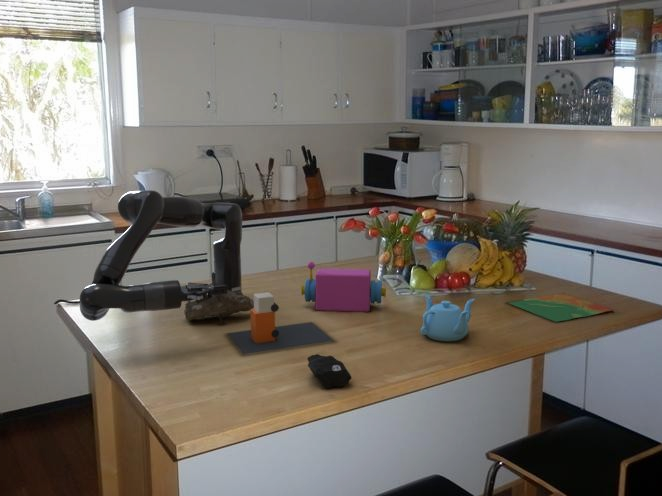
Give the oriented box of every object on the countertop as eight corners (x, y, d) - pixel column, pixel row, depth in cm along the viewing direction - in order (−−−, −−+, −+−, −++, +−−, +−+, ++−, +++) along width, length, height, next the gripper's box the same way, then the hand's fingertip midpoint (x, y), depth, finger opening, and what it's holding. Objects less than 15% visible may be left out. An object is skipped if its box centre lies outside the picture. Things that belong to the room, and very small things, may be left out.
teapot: (414, 341, 186) (415, 306, 184) (424, 324, 200) (425, 292, 198) (467, 347, 182) (468, 311, 180) (473, 329, 196) (475, 296, 194)
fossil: (252, 297, 214) (253, 278, 201) (258, 325, 210) (260, 307, 197) (183, 310, 209) (180, 291, 196) (188, 338, 205) (186, 321, 192)
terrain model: (563, 294, 233) (563, 292, 233) (614, 311, 213) (615, 309, 213) (507, 302, 223) (507, 301, 222) (555, 321, 203) (555, 319, 202)
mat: (243, 355, 175) (243, 353, 175) (227, 334, 192) (227, 333, 192) (334, 342, 185) (334, 340, 185) (311, 323, 202) (311, 322, 202)
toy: (385, 304, 221) (386, 260, 218) (385, 312, 212) (385, 267, 210) (303, 302, 224) (303, 259, 221) (299, 310, 215) (299, 265, 212)
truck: (256, 343, 183) (255, 298, 181) (250, 337, 188) (249, 293, 185) (279, 340, 186) (278, 296, 183) (273, 334, 190) (272, 291, 188)
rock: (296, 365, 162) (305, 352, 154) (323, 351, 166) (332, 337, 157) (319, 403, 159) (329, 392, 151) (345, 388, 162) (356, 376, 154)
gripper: (164, 287, 166) (232, 281, 173) (156, 276, 178) (220, 270, 185) (166, 316, 168) (233, 308, 174) (158, 303, 180) (221, 296, 186)
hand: (226, 289), depth 180 cm, fingers closed
